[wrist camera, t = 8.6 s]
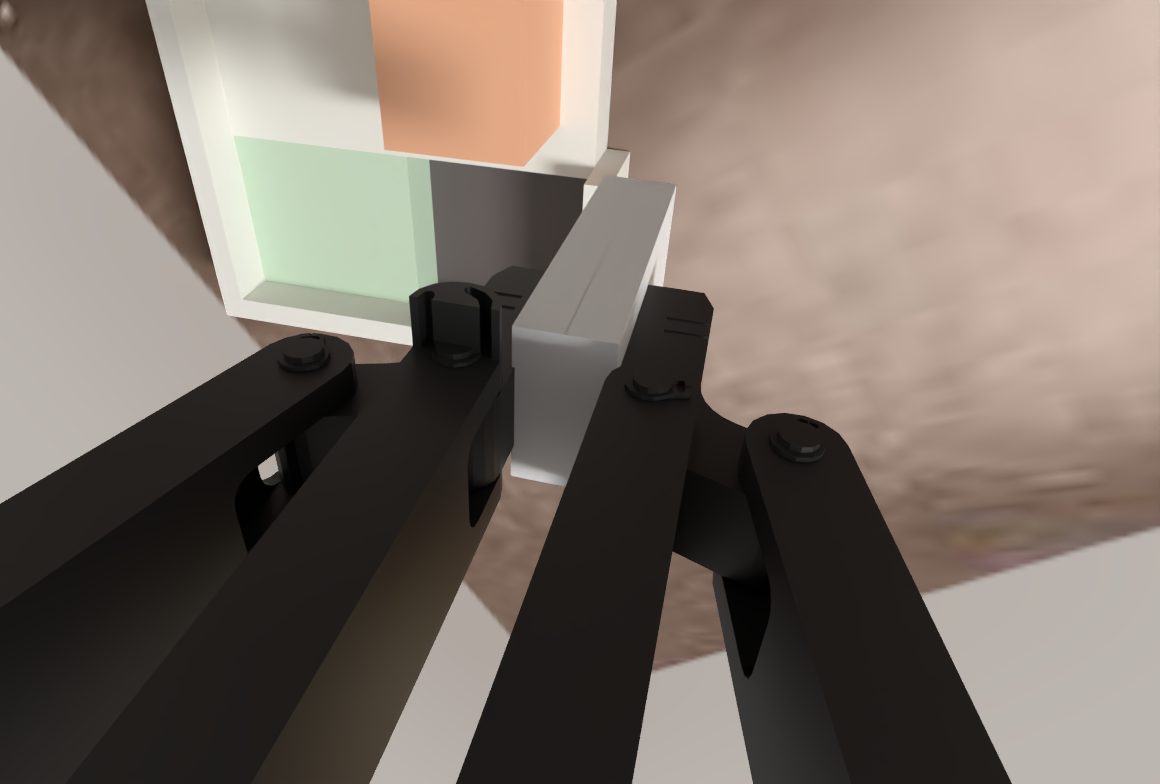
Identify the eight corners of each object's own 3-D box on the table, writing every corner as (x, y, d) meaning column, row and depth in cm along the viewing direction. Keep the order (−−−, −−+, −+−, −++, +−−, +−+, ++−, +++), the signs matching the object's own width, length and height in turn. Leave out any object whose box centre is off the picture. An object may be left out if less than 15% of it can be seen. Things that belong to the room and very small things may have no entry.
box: (118, -500, 24) (-2, -566, 20) (685, -512, 21) (664, -591, 17) (278, 274, 39) (227, 315, 36) (615, 326, 37) (596, 376, 33)
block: (429, -31, 27) (367, -14, 23) (564, -20, 26) (524, 0, 22) (438, 112, 30) (384, 149, 26) (559, 126, 29) (523, 167, 25)
